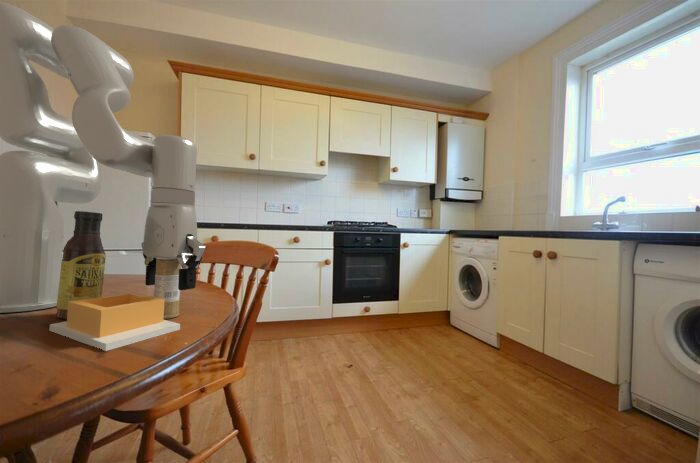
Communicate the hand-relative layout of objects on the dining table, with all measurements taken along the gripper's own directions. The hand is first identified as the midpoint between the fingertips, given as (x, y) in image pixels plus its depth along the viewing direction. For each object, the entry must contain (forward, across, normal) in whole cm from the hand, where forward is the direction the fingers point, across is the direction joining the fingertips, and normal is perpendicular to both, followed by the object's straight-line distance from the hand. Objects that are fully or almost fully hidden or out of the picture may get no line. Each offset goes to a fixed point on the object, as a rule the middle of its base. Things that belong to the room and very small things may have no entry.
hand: (170, 286), depth 58 cm
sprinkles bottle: (+6, -1, 0) cm, 6 cm away
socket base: (+6, 0, -9) cm, 11 cm away
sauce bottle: (+6, -14, -8) cm, 17 cm away
